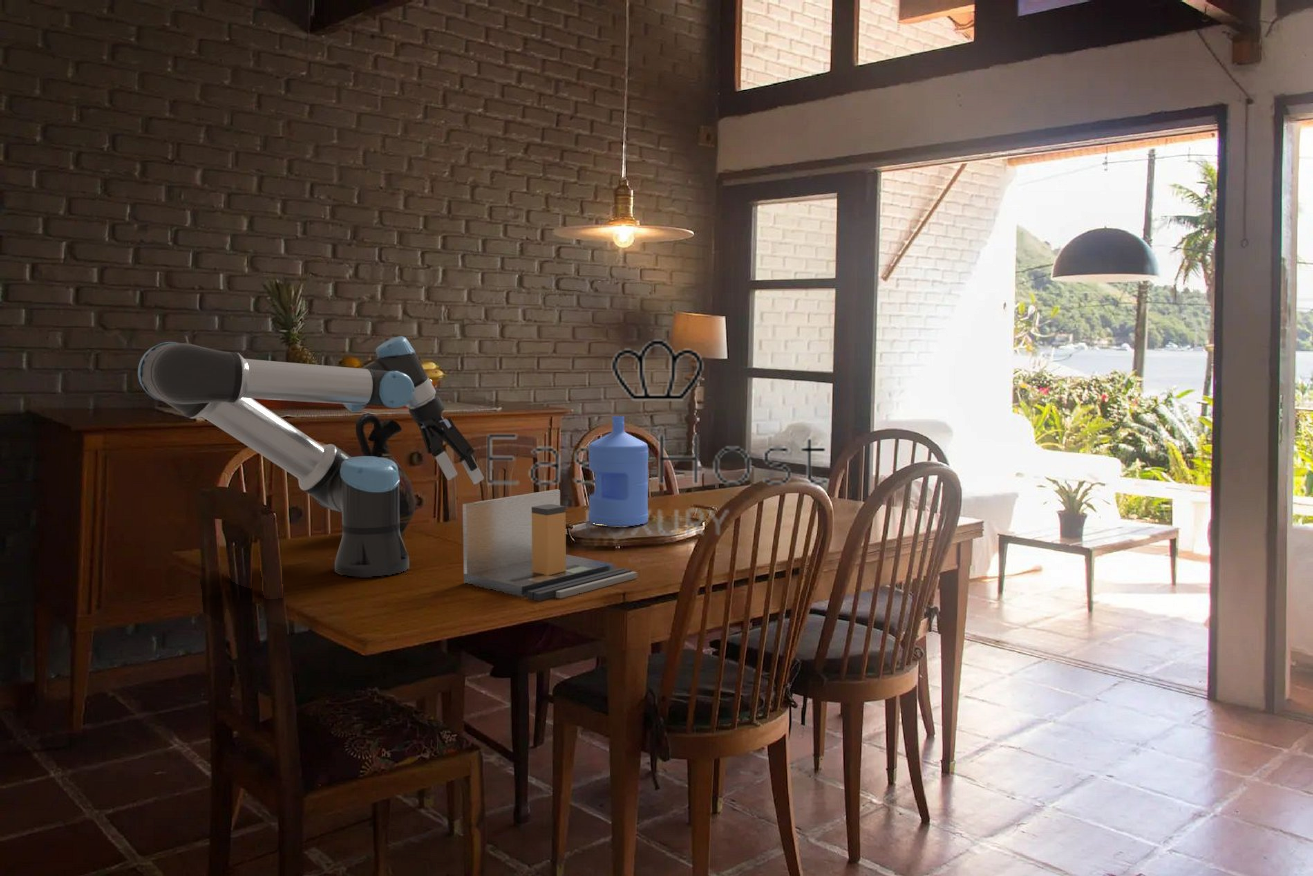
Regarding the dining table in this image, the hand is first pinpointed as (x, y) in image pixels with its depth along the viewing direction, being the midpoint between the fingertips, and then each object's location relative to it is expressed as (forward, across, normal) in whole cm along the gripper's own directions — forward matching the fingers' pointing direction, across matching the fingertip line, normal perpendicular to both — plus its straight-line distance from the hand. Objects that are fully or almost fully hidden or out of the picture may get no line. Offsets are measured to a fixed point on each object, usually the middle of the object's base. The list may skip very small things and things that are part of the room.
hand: (465, 479), depth 248 cm
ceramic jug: (+7, +23, +18) cm, 30 cm away
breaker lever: (+12, -43, +10) cm, 45 cm away
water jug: (+35, +3, -32) cm, 48 cm away
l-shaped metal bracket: (+14, -39, +11) cm, 43 cm away
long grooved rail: (+15, -51, +9) cm, 54 cm away
